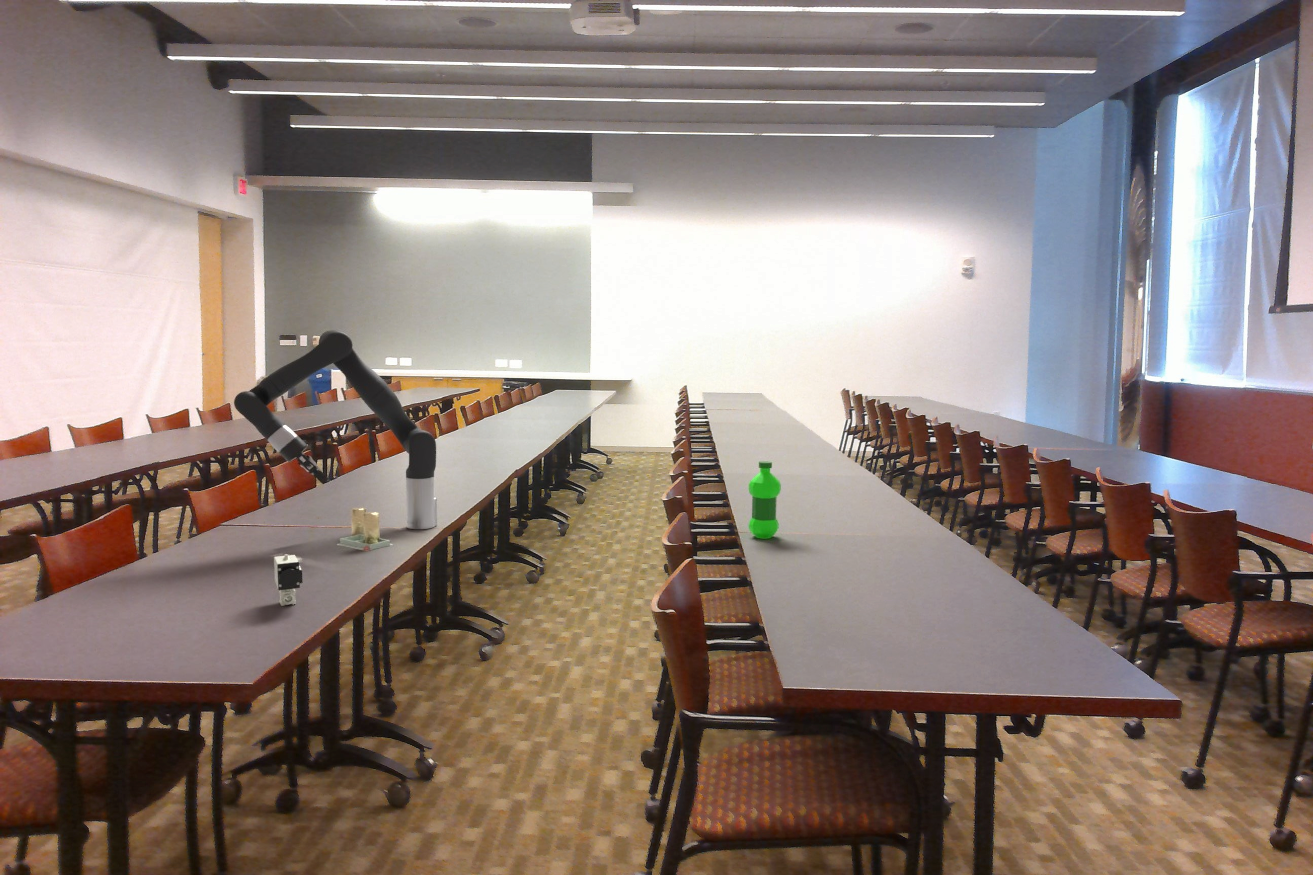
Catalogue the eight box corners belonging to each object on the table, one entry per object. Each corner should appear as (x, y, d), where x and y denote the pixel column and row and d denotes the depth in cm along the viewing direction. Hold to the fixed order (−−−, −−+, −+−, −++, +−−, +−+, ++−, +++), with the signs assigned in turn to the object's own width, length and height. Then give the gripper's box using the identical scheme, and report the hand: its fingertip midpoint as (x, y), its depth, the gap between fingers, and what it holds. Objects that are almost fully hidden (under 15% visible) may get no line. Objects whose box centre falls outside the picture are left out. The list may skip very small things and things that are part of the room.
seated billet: (373, 543, 261) (372, 511, 260) (383, 545, 259) (382, 512, 257) (360, 546, 257) (360, 513, 256) (370, 548, 255) (370, 515, 254)
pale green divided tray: (363, 542, 268) (363, 533, 267) (393, 549, 260) (393, 539, 260) (336, 549, 259) (336, 539, 259) (366, 555, 252) (366, 545, 252)
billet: (360, 537, 275) (359, 507, 274) (369, 539, 272) (369, 508, 271) (348, 540, 271) (348, 509, 270) (358, 542, 269) (357, 510, 268)
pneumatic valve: (279, 611, 199) (277, 561, 198) (274, 598, 210) (272, 550, 208) (305, 608, 202) (303, 558, 201) (299, 595, 212) (297, 548, 211)
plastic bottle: (770, 532, 289) (772, 459, 287) (784, 539, 279) (786, 463, 277) (743, 534, 286) (744, 460, 284) (756, 541, 276) (758, 464, 274)
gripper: (295, 434, 258) (334, 473, 261) (298, 435, 271) (335, 472, 274) (275, 451, 256) (315, 490, 259) (279, 452, 269) (317, 489, 272)
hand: (325, 481), depth 266 cm, fingers open, 8 cm apart
